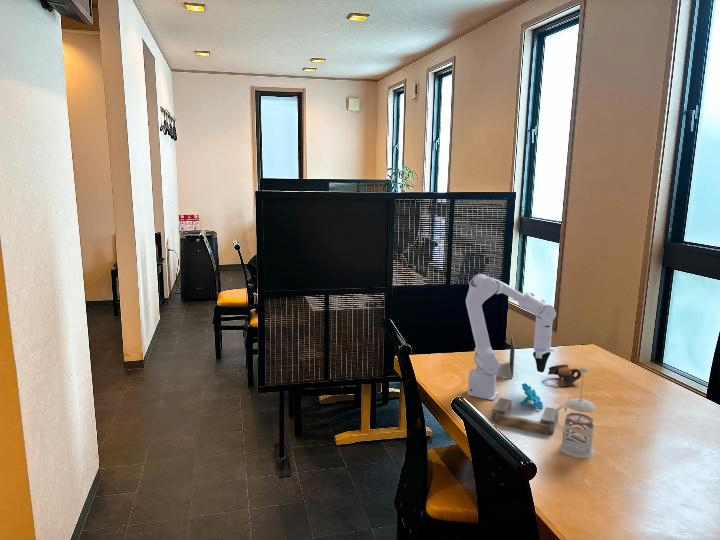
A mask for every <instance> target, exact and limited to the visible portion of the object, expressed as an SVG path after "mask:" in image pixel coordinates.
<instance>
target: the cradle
mask: <svg viewBox="0 0 720 540" xmlns="http://www.w3.org/2000/svg"><path fill="white" fill-rule="evenodd" d="M512 402H513V400H511V399H507V398H503V397H499V398H498V400H497V402H496V403H495V404H494V406H493V408H491V410H492V411H491V421H492V422H494V423H495V424H497V425H501V426H505V427H510V428H514V429H519V430H524V431H527V432H532V433H537V434H542V435H544V436H545V435H546V436H548V434H552V435H553V434H554V433H555V430H556V427H557V426H556V424H557V421H558V422H559V414H560V413H559V411H560V409H559V410H558V411H557V409H558V408H554V407H548V406H546V407H545V408H544V411H543V413H542V415H541V417H540V421H538V420H534V419H533V420H532V419H528V418H523V417H518V416H513V415H510V414H511V412H512V405H513V404H512ZM556 411H557V414H556V418H557V421H556V418H555V421H556V424H555V421H554V415H555V412H556ZM557 425H558V424H557Z"/></svg>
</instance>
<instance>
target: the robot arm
mask: <svg viewBox="0 0 720 540" xmlns="http://www.w3.org/2000/svg"><path fill="white" fill-rule="evenodd" d="M468 286H469V287H468V291H467V294H466V298H465V305H466V309H467V314H468V318H469V322H470V327H471V332H472V336H473V341H474V343H475V348H474V358H473V361H474V363H475V364H476V368H471V369H470V370H469V373H468V379H467V380H468V382H467V394H466V395H467V396H471V397H476V398H480V399H484V400H491V401H494V399H495V398H496V397H497V395H498V394H499V391H498V390H496V385H497V383H496V382H497V377H496V372H497V371H498V369H499V366H500V365H499V362H500V361H499V360H498V359H497V358H496V354H495V352H494V350H493V349H492V346H491V342H490V337H489V333H488V329H487V323H486V319H485V313H484V311H483V304H484V303H485V301H487V300H488V299H489V298H491V297H492V296H493V295H495V294H496V295H499V294H503V295H506V296H507V297H509V298H511V299H513V300H515V301H516V302H517V304H518V306H519V307H520V308H522V309H523V310H525V311H527V312H528V313H531V314H533V315H534V317H535V326H534V327H535V329H534V342H533V343H534V344H533V346H532V347H533V352H532V356H533V358H534V361H535V365H536V371H537V372H539V373H544V372H545V370H546V366H547V362H548V359H549V358H550V356H551V352H555V348H554V347H552V335H553V323H554V320H555V318H556V317H557V312H556V309H555V307H554V306H552V305H551V304H549V303H547V302H546V300H544V299H540V298H538V297H536V294H534V293H533V292H524V293H522V292H520V291H519V290H517V289H515V288H513V287H512V286H510V285H508V284H507V283H505V282H503V281H501V280H499V279H496V278H494V277H491V276H488V275H486V274H484V273H478V274H475V275H474V276H473V277H472V279H471V280H470V281H469V285H468Z"/></svg>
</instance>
